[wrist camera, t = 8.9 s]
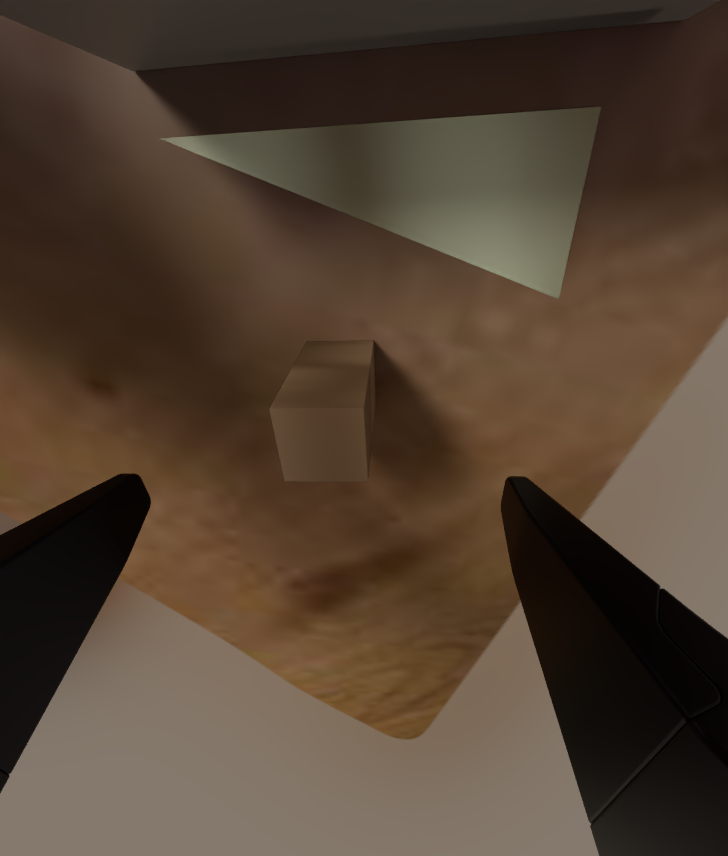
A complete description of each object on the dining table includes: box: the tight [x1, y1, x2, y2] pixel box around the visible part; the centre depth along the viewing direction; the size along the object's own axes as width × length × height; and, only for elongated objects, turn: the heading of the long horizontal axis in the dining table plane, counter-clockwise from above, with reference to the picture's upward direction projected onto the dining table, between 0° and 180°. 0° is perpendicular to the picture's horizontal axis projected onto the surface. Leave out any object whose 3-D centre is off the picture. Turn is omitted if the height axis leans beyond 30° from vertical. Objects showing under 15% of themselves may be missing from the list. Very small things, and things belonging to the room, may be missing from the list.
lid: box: [160, 106, 602, 482], centre depth 13 cm, size 15×15×6 cm
